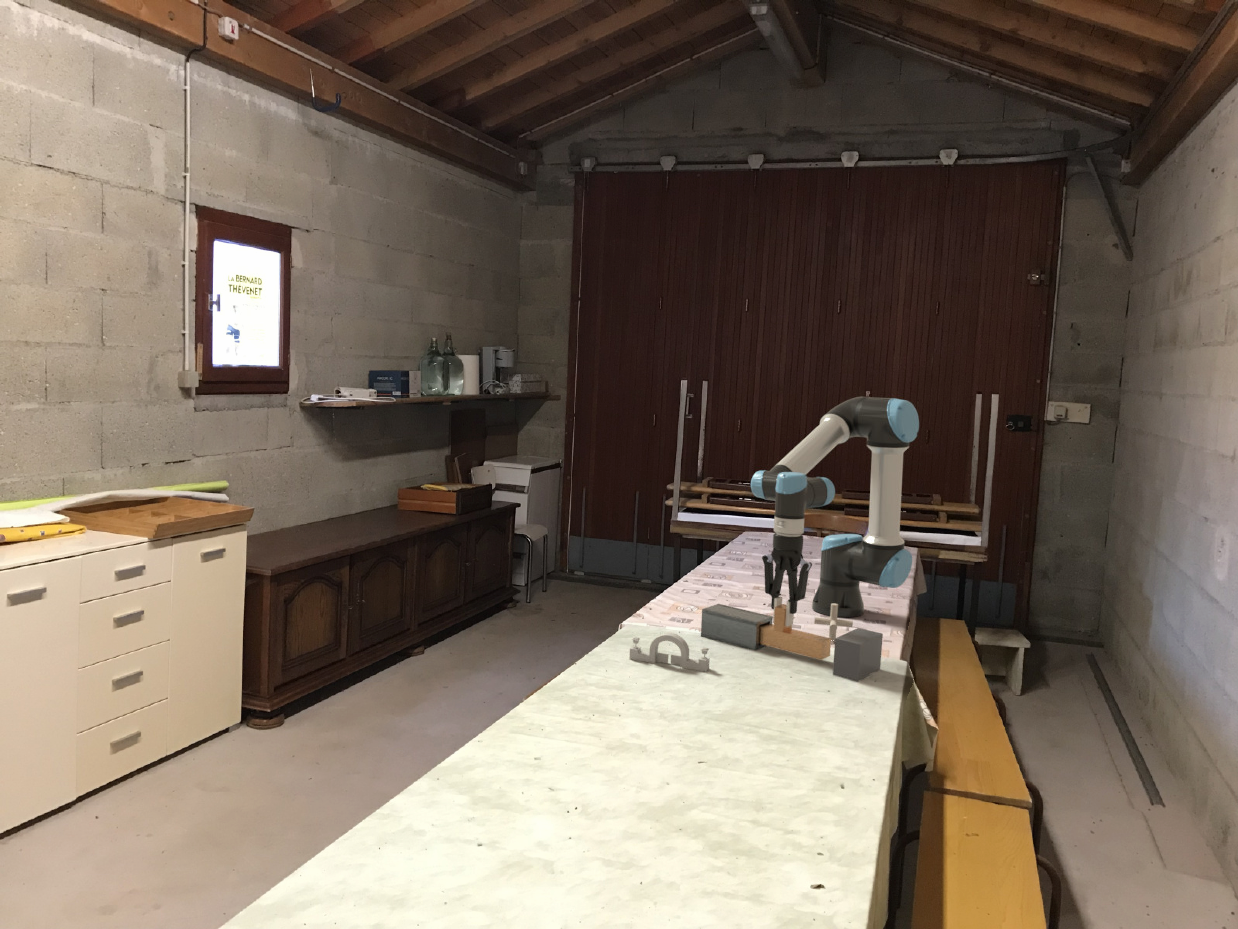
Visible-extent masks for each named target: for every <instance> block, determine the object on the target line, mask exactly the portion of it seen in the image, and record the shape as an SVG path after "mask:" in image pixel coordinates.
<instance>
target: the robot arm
mask: <svg viewBox="0 0 1238 929" xmlns="http://www.w3.org/2000/svg"><path fill="white" fill-rule="evenodd" d="M819 420H820V421H819V425H818V426H816V427H815V428H814V429H813V430H812V431H811V432H810V433H809V434H808V435H807V436H806V437H805V438H804V439H802V440H801V441H800V442H799V443H798V444H797V445H796V446H794V448H793V449H791V450H790V451H789V452H788V453H787V454H786V455H785V456H784V457H783V458H782V459H781V460H780V461H779V462H777V463H776V464H775V465H774V466H773V467H772V468H771V469H770V470H765V469H764V470H758V471H755V473H754V474H753V475H752V478H751V480H750V489H751V492H752V494H753V496H755V497H756V498H760V499H764V500H766V501H774V502H775V503H774V504H775V505H774V515H773V516H774V521H773V532H774V533H773V535H772V536H773V537H772V548H773V549H772V551H771V553H768V554H764V555H763V556H762V557H761V559H762V563H763V565H764V568H763V569H764V571H763V572H764V592H765V594H767V595H769V596H770V597H771V605H770V608H771V610H773V620H772V624H774V617H775V607H777V606H780V605H782V604H783V596H781V595H782V593H781V590H782V586H783V585H782V584H783V579H784V577H785V576H784V575H785V572H786V575H787V581H788V582H787V583H788V594H789V595H788V596H789V599H788V600H787V601H786V603H785V605H786V621H785V626H787V627H788V626H791V625H792V626H793V625H794V615H795V614H796V613H797V611H798V602H799V601H802V600H804V599H805V598H806V592H807V586H808V579H809V573H810V570H811V568H812V566H813V563H812V562H811V561H810V562H808V561H807V560H805V559H804V555H803V549H804V548H803V547H804V535H802V534H804V533H805V514H806V509H810V508H812V509H813V508H821V507H823V506H826V505H829V504H831V503H832V501H833V500H834V498H835V496H836V495H835V494H836V488H835V485H834V483H833V482H832V481H831V479H829V478H827V477H824V476H823V477H822V476H821V477H820V476H816V477H809V476H807V474H808V473H809V472H810V471H811V470H813V469H814V468H815V467H816V465H818V464H819V463H820V462H821V461H822V460H823V459H824V458H825V457H826V456H827V455H828V454H829V453H830V452H831V451H832V450H833V449H834V448H835V447H836V446H837V445H839V444H843V443H846V442H847V441H848V440H849V439H852V438H855V437H859V438H866V447H867V448H868V449H869V451H871V462H870V463H871V464H870V466H871V467H870V468H871V469H870V488H869V490H870V493H869V508H868V510H869V513H868V533H867V534H866V535H865V536H864V537H863V536H862V535H860V534H856V533H839V534H829V535H826V536H825V537H824V538H823V540H822V543H821V549H820V552H821V553H820V569H819V570H820V572H819V584H818V587H817V589H816V591H815V593H814V597H813V599H812V602H811V603H812V604H811V608H812V610H813V611H814V612H816V613H819V614H822V615H827V616H830V613H831V604H832V603H835V604H838V613H837V618H838V617H841V618H853V617H859V616H862V615H864V611H865V610H864V609H865V606H864V604H865V603H864V601H863V597H862V593H861V589H860V582H861V583H865V584H870V585H874V586H878V587H881V588H889V589H897V588H899V587H900V586H902V585H903V584H904V583H905V582H906V580H907V579H908V577H909V575H910V573H911V570H912V569H911V568H912V566H913V555H912V553H911V551H910V550H908V549H906V548H905V540H904V539H903V538H902V536H900V530H901V526H900V525H901V508H902V489H903V488H902V486H903V468H904V466H903V465H904V453H905V451H907V449H909V448H910V443H911V442H914V440H915V439H916V438H917V437H918V433H919V430H920V420H919V414H918V411H917V409H916V407H915V406H914V404H913V403H912V402H911V401H909V400H905V399H899V398H895V397H894V398H891V397H890V398H889V397H873V396H872V397H871V396H870V397H868V396H856V397H852V398H850V399H847V400H845V401H843V402H841V403H840V404H837V405H836V406H834V407H833V408H831V409H830V410H829V411H828V412H827V413H825V414H824V415H823V416H822V417H821V418H820V419H819ZM774 563H775V567H774ZM799 565H800V566H799ZM798 568H800V571H799V575H798V570H799V569H798Z"/></svg>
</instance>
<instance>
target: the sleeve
mask: <svg viewBox="0 0 1238 929" xmlns="http://www.w3.org/2000/svg"><path fill="white" fill-rule="evenodd" d="M700 622H701V623H700V624H701V626H700V637H701V638H706V639H709V640H713V641H716V642H721V643H723V644H724V643H725V644H727V645H731V646H736V647H740V648H743V649H748V650H751V651H755V652H756V651H759V650H761V649H763V648H765V647H767V646H766V645H762V644H758V636H759V625H761V624H764V623H769V624H773V616H772V615H768V614H764V613H760V612H756V611H755V612H754V611H751V610H747V609H744V608H743V609H742V608H738V607H734V606H730V605H726V604H721V603H717V604H714V605H710V606H707V607H704V608H702V609H701V621H700Z"/></svg>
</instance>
